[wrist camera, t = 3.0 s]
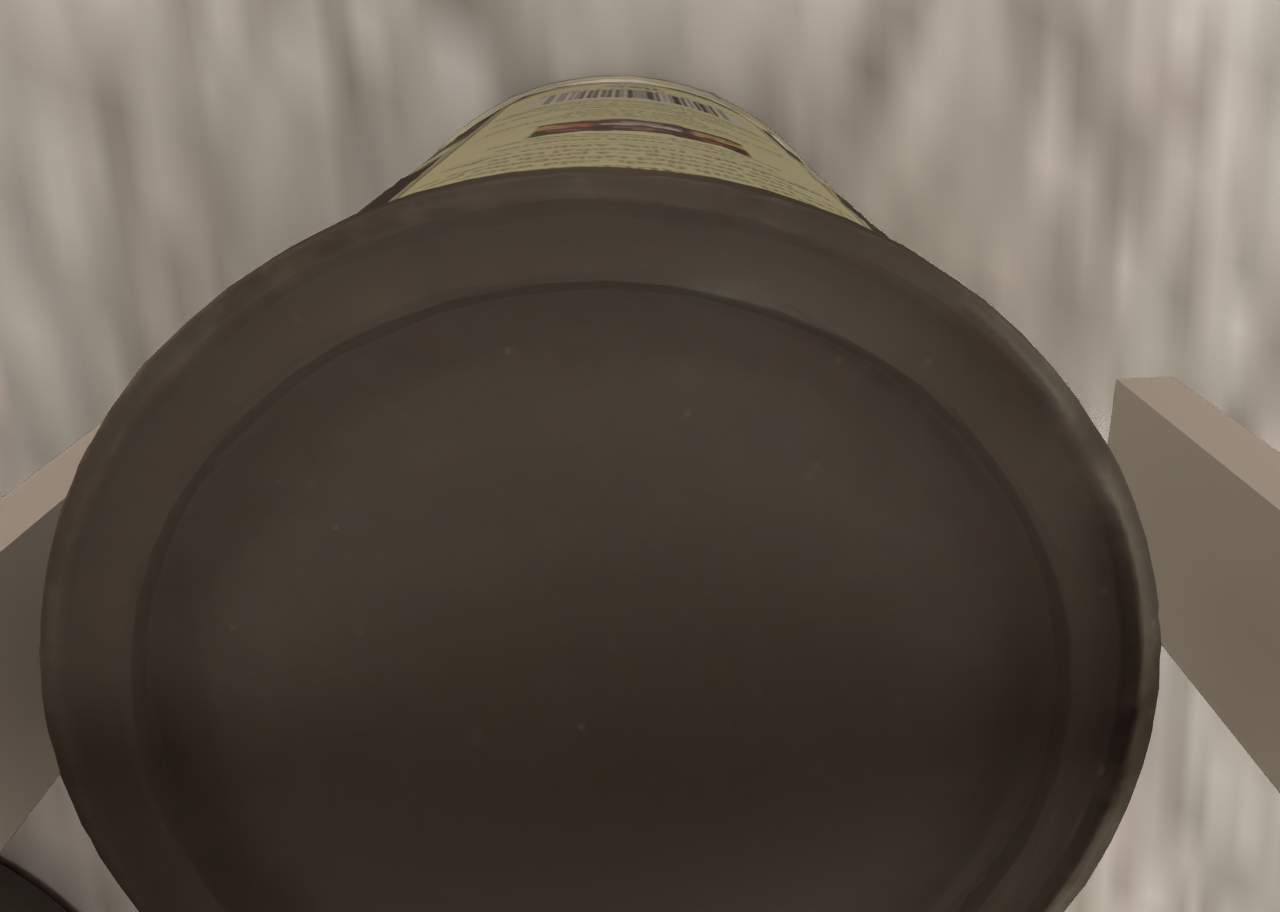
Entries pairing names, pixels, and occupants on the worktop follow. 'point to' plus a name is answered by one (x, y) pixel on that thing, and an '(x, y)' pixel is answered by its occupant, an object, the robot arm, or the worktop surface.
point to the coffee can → (600, 557)
